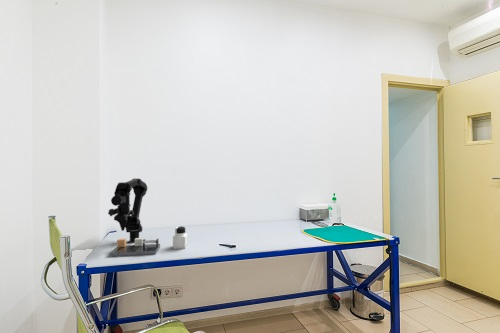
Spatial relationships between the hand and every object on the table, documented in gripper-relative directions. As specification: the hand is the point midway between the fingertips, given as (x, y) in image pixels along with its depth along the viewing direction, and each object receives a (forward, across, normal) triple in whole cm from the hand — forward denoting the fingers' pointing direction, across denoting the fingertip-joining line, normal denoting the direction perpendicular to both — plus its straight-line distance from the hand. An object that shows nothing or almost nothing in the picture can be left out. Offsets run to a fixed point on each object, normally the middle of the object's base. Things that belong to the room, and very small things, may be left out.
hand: (124, 229), depth 163 cm
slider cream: (+9, +6, +9) cm, 14 cm away
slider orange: (+9, +5, 0) cm, 10 cm away
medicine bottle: (+11, +5, +33) cm, 35 cm away
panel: (+11, +10, +9) cm, 17 cm away
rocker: (+6, +10, +17) cm, 20 cm away
